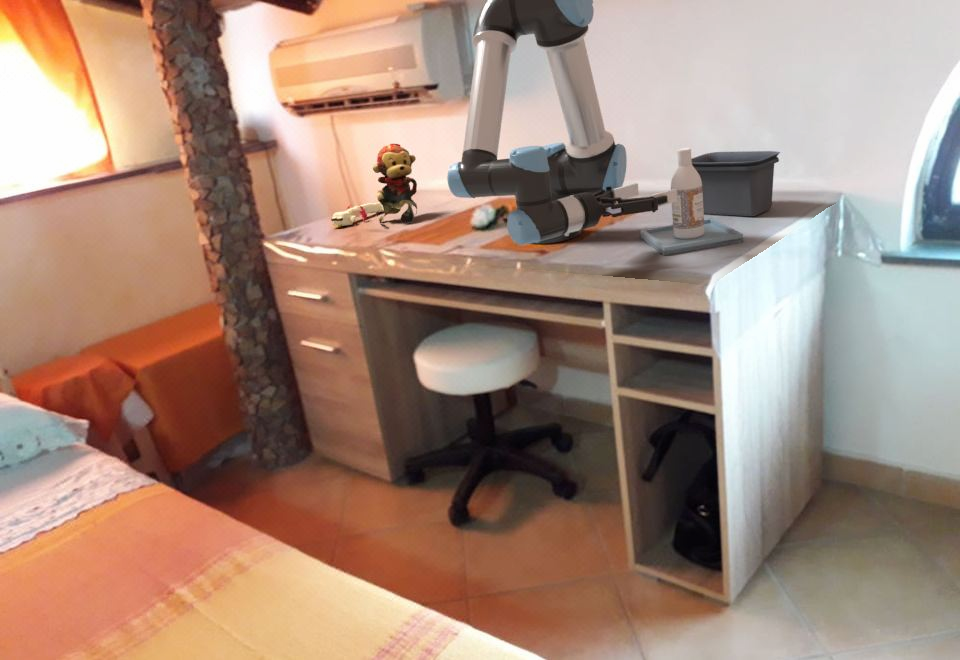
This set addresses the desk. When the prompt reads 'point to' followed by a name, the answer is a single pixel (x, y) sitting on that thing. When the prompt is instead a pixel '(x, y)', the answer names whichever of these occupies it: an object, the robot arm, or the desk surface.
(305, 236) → the desk surface
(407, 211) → the stuffed monkey
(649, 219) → the desk surface
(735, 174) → the storage bin
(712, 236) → the tray
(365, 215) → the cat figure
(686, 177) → the bath foam
